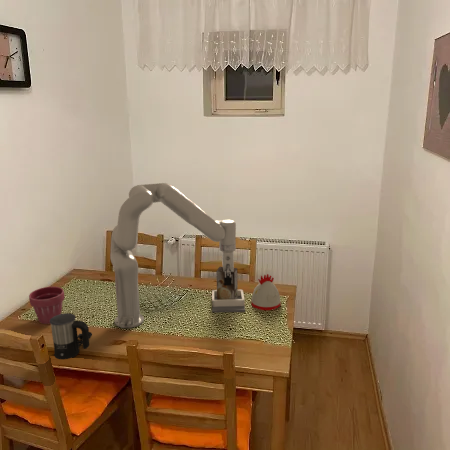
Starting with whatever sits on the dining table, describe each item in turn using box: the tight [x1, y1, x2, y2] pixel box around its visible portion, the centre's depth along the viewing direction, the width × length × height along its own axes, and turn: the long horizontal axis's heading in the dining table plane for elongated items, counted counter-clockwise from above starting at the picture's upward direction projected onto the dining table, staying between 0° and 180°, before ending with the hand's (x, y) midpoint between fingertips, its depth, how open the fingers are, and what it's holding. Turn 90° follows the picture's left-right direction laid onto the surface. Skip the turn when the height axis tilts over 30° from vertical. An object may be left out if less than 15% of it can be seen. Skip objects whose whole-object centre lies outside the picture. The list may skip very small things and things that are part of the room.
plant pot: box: [28, 286, 66, 325], centre depth 197 cm, size 14×14×13 cm
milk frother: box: [49, 312, 93, 360], centre depth 173 cm, size 14×16×15 cm
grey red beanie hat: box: [250, 273, 281, 311], centre depth 210 cm, size 14×14×15 cm
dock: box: [211, 289, 246, 314], centre depth 213 cm, size 20×15×4 cm
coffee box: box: [215, 266, 239, 300], centre depth 211 cm, size 9×6×16 cm
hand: (227, 281), depth 211 cm, fingers open, 9 cm apart
